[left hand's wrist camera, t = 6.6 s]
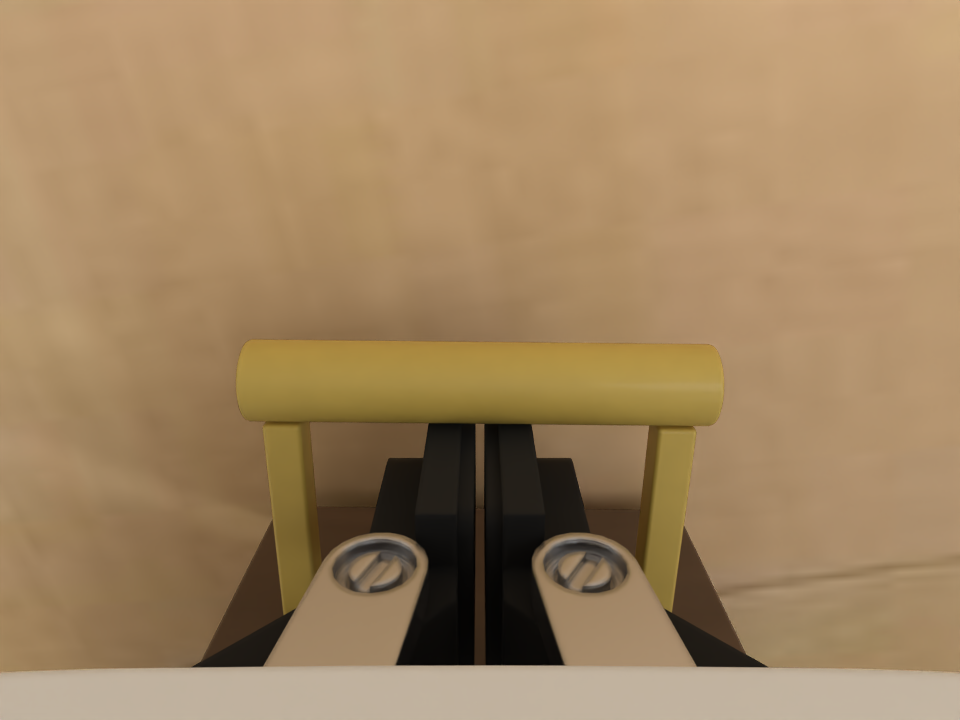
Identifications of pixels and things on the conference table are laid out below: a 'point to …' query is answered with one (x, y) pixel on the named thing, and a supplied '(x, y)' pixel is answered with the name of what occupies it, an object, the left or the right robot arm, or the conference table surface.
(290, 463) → the drawer
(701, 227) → the conference table surface
